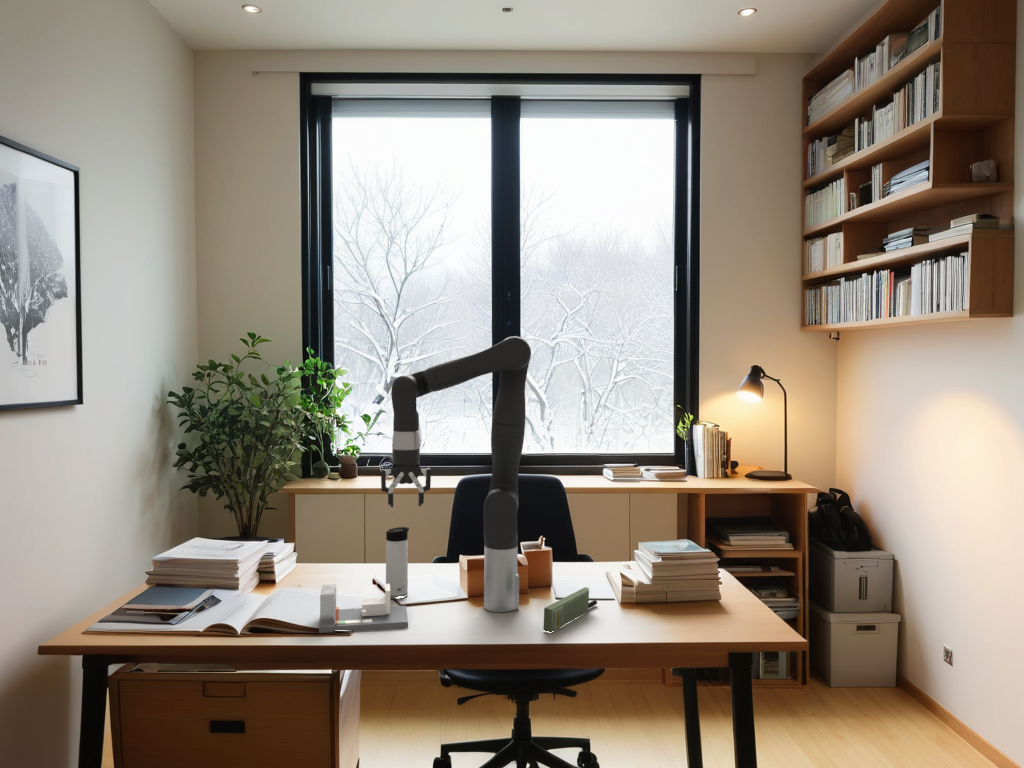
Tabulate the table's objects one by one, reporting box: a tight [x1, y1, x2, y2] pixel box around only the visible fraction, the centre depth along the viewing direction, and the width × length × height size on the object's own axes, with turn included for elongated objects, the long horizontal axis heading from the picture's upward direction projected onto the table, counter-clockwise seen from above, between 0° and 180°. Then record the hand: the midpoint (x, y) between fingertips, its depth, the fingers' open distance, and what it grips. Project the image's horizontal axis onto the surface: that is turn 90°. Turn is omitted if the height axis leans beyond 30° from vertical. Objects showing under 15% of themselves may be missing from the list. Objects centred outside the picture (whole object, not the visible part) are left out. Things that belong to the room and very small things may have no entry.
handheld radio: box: [542, 586, 598, 632], centre depth 187 cm, size 7×3×25 cm
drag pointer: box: [335, 606, 340, 624], centre depth 178 cm, size 1×4×3 cm, turn 11°
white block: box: [361, 583, 391, 616], centre depth 184 cm, size 7×8×6 cm
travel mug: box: [385, 526, 410, 600], centre depth 203 cm, size 6×7×20 cm
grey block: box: [319, 584, 337, 623], centre depth 182 cm, size 4×8×7 cm, turn 11°
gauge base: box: [318, 605, 409, 634], centre depth 183 cm, size 22×12×2 cm, turn 101°
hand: (405, 506), depth 195 cm, fingers open, 7 cm apart
